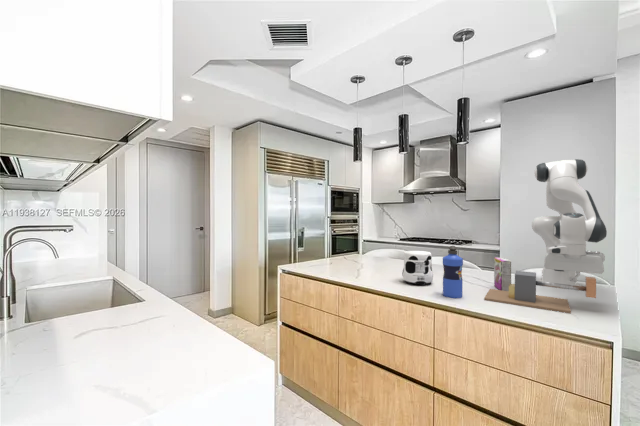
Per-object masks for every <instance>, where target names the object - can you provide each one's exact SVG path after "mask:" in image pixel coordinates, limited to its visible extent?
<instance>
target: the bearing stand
mask: <svg viewBox="0 0 640 426" xmlns="http://www.w3.org/2000/svg"><path fill="white" fill-rule="evenodd" d="M536 281H537V272H534V271H533V272H532V271H525V270H524V271H523V270H515V273H514V284H515V299H514V298H509V291H502V290H499V289H494V288H490V289H488V292H487V293H486V294H485V296H484V298H483V300H484V301H489V302H495V303H500V304H507V305H514V306H519V307H527V308H533V309H540V310H546V311H551V310H552V311H553V312H557V311H559V312H558V313H564V312H565V313H566V314H571V313H572V312H571V311H572V310H571V307H570V304H569V303H570V302H569V300H568V298H560V297H552V296H546V295H545V296H544V295H538V294H537V285H536ZM552 311H551V312H552ZM565 313H564V314H565Z"/></svg>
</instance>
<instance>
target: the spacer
mask: <svg viewBox="0 0 640 426" xmlns="http://www.w3.org/2000/svg"><path fill="white" fill-rule="evenodd" d="M509 298H514V299H515V283H511V284H509Z"/></svg>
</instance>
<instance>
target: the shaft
mask: <svg viewBox="0 0 640 426" xmlns="http://www.w3.org/2000/svg"><path fill="white" fill-rule="evenodd" d="M536 286H540V287H547V288H554V289H555V288H556V289H557V288H558V289H564V290H573V291H581V292H584V294H585V297H586V298H593V299H596V298H597V278H596V277H593V276H585V285H584V286H583V285H580V286H577V285H568V284H559V283H550V282H541V281H538V280H536Z"/></svg>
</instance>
